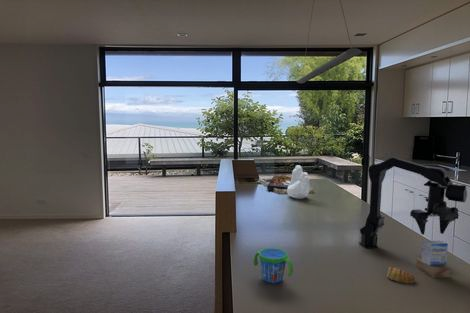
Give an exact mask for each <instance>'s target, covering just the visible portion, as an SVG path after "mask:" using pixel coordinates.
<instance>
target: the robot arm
mask: <svg viewBox="0 0 470 313" xmlns="http://www.w3.org/2000/svg"><path fill="white" fill-rule="evenodd" d="M392 168H398V169H401V170H405V171H408V172H409V173H410V172H411V173H414V174H417V175H420V176H422V177H424V178H425V179H426V180H427V182H425V183H424V184H423V186H424V187H428V196H427V198H425V202H427V206H426V207H425V208H424V210H421V209H412V210H411V211H410V214H409V215H410V217H411V218H413V219H414V220H415V222H416V223H417V225H418V228H419V231H420V234H421V235H425V232H426V224H427V223H428V222H429V217H439V219H438V220H439V232H440V234H442V235H444V233H445V231H446V229H447V228H448V226H449V224H450V223H452V222H455V221H456V219H457V220H458V219H459V209H458V208H457V207H456V206H454V207H453V206H451V207H449V206H447V202H446V201H445V198H446V199H447V200H448V201H453V202H459V203H466V201H467V198H468V192H467V191H468V190H467V184H466V185H465V184H456V183H455V184H454V183H453V182H452V180H451V179H450V176H449V172H448V171H447V169H445V168H444V167H441V166H440V167H439V166H431V165H430V166H428V165H424V164H423V165H422V164H419V163H417V162H413V161H409V160H407V159H403V158H399V157H398V156H392V157H389V158H388V159H386V160H384V161H382V162H379V163H374V164H371V165H370V166H369V167H368V178H369V180H370V182H371V183H370V201H369V213H368V215H367V218H366V220H365V224H364V226H363V227H361V228H360V229H359V231H360V234H361V239H360V242H358V244H360V245H361V246H363V247H364V248H366V249H374V248H379V245H378V232H379V231H381V229H383V226H384V225H385V216H382V214H381V206H382V204H381V203H382V191H383V190H382V186H383V182H384V179H385V177H386V174H387V171H388V170H391V169H392Z"/></svg>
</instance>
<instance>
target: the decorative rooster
mask: <svg viewBox="0 0 470 313" xmlns="http://www.w3.org/2000/svg"><path fill="white" fill-rule="evenodd" d="M291 176H292V177H291ZM291 176H290V177H291V181H290V183H289V186H288V188H287V193H288V194H287V195H288V196H289V197H291V198H293V199H298V200H299V199H300V200H302V199H305V198H306V197H308V196H309V194H310V193H309V187H310V188H311V186H310V177H309V174H308V172H306V171H303V167H302V166H301V165H300V164H299V165H298V164H297V165H295V167H294V169H293V170H292V172H291Z"/></svg>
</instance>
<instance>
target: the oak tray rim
mask: <svg viewBox="0 0 470 313" xmlns="http://www.w3.org/2000/svg"><path fill="white" fill-rule="evenodd" d="M271 179H272V178H259V179H258V182H259V183H260V185H261V184H262V185H263V186H265V187H266V188H267V186H268V184H269V182H270V181H271ZM273 192H274V193H275V194H277V195H278V194H279V195H281V194H285V195H286V194H287V195H288V193H287V190H278V189H276V188H274V190H273V191H272V193H273ZM313 193H315V189H314V188H313V187H311V186H310V187H309V193H308V194H313Z"/></svg>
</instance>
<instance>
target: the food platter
mask: <svg viewBox="0 0 470 313" xmlns="http://www.w3.org/2000/svg"><path fill="white" fill-rule="evenodd" d="M291 177H292V175H291V176H289V175H286V174H285V175H284V174H279V175H273V177H271V176H270V178H269V179H271V181H270V182H268V186H267V187H266V188H267V191H270V192H271V191H272V192H273V190H274V188H276V189H278V190H287V188H288V186H289V183H290V181H291Z"/></svg>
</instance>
